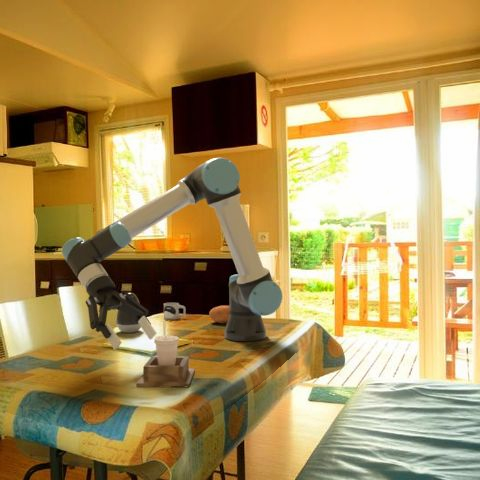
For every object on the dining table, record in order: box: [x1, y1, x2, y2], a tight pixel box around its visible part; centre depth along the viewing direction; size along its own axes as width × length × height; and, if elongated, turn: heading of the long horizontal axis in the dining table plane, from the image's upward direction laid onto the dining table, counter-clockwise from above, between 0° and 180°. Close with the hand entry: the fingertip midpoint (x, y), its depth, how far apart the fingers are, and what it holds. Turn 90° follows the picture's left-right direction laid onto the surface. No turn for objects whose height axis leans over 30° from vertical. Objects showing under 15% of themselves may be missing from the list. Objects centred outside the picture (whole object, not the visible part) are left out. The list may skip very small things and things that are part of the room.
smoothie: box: [154, 320, 180, 366], centre depth 122 cm, size 6×6×14 cm
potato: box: [208, 305, 230, 324], centre depth 200 cm, size 9×11×8 cm
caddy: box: [135, 355, 196, 388], centre depth 122 cm, size 13×13×4 cm
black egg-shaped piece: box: [115, 292, 142, 334], centre depth 183 cm, size 10×10×15 cm
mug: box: [163, 302, 187, 321], centre depth 212 cm, size 10×7×7 cm, turn 81°
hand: (136, 341), depth 128 cm, fingers open, 13 cm apart
